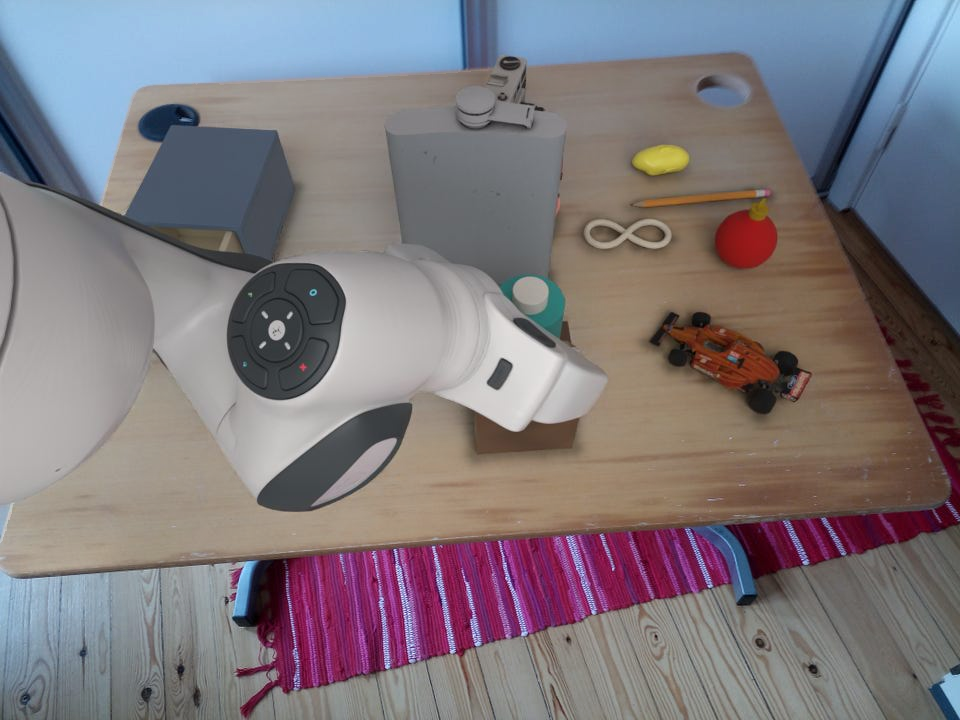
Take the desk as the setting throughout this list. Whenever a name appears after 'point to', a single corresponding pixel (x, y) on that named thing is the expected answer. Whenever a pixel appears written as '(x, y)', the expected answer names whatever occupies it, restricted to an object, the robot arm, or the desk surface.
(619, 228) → the decorative object
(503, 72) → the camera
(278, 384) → the robot arm
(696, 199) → the pencil
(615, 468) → the desk surface
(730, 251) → the christmas ornament
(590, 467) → the desk surface
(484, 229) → the flask
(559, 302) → the detergent bottle
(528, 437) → the stand
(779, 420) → the desk surface
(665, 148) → the lemon
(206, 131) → the cabinet
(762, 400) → the toy car
